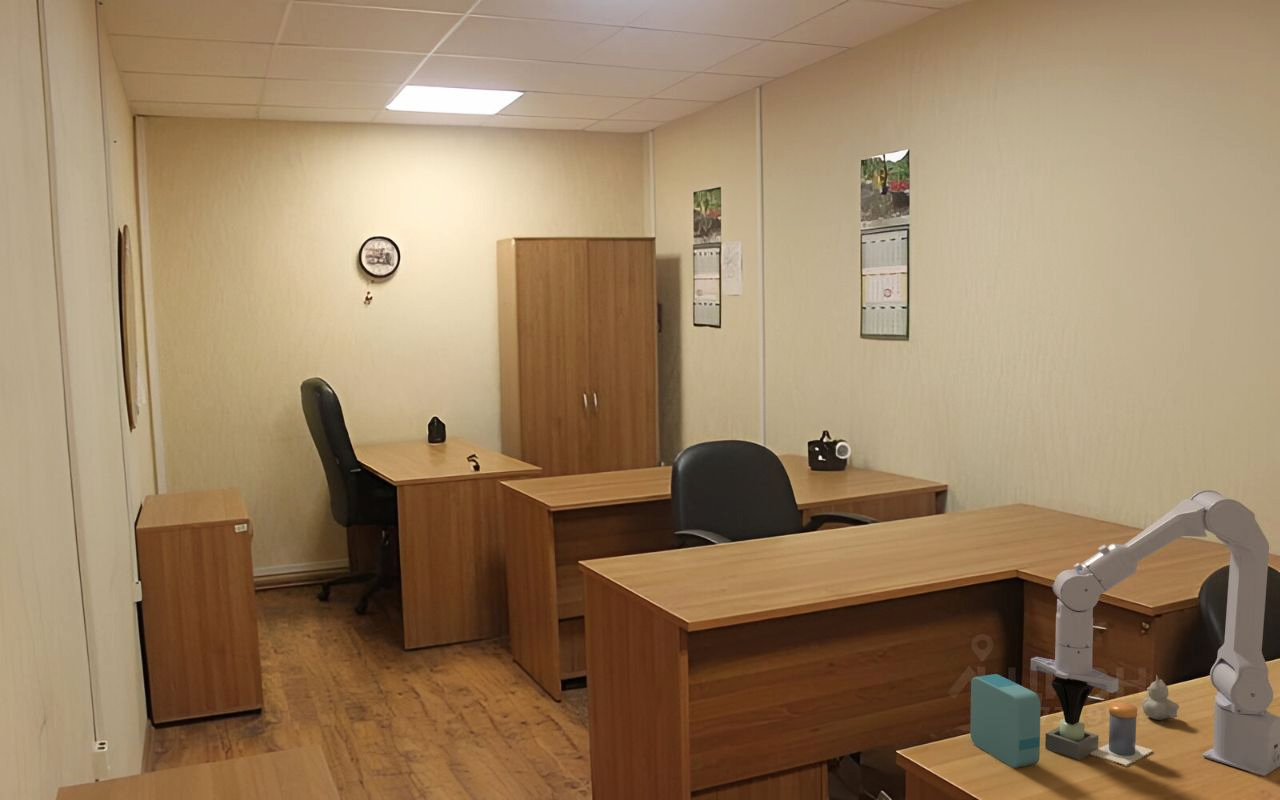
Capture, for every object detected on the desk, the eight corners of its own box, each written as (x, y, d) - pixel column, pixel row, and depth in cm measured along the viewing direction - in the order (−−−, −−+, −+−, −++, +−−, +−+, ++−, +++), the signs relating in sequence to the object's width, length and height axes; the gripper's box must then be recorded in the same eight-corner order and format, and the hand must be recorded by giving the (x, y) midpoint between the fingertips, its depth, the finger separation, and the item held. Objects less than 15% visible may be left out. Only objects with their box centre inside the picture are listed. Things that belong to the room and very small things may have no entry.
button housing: (1098, 750, 171) (1098, 735, 171) (1079, 760, 168) (1079, 744, 167) (1064, 739, 176) (1064, 724, 176) (1045, 748, 172) (1045, 733, 172)
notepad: (1152, 752, 170) (1153, 749, 170) (1125, 766, 165) (1125, 764, 165) (1117, 740, 175) (1117, 738, 175) (1090, 754, 170) (1090, 752, 170)
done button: (1088, 740, 171) (1089, 723, 171) (1076, 746, 169) (1076, 729, 169) (1067, 733, 174) (1067, 716, 174) (1055, 739, 172) (1055, 722, 172)
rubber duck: (1152, 710, 188) (1154, 668, 188) (1186, 722, 183) (1188, 679, 182) (1134, 716, 186) (1135, 673, 185) (1167, 728, 180) (1169, 684, 179)
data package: (1040, 767, 165) (1041, 695, 164) (1017, 771, 164) (1018, 698, 163) (991, 738, 177) (992, 671, 176) (969, 742, 175) (970, 674, 174)
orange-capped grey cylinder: (1140, 751, 170) (1141, 707, 169) (1129, 758, 167) (1130, 713, 167) (1115, 743, 173) (1116, 700, 172) (1103, 750, 170) (1104, 706, 170)
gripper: (1021, 637, 174) (1019, 714, 175) (1103, 659, 162) (1101, 742, 163) (1044, 629, 178) (1042, 705, 179) (1126, 650, 166) (1123, 731, 168)
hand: (1072, 722), depth 171 cm, fingers closed
